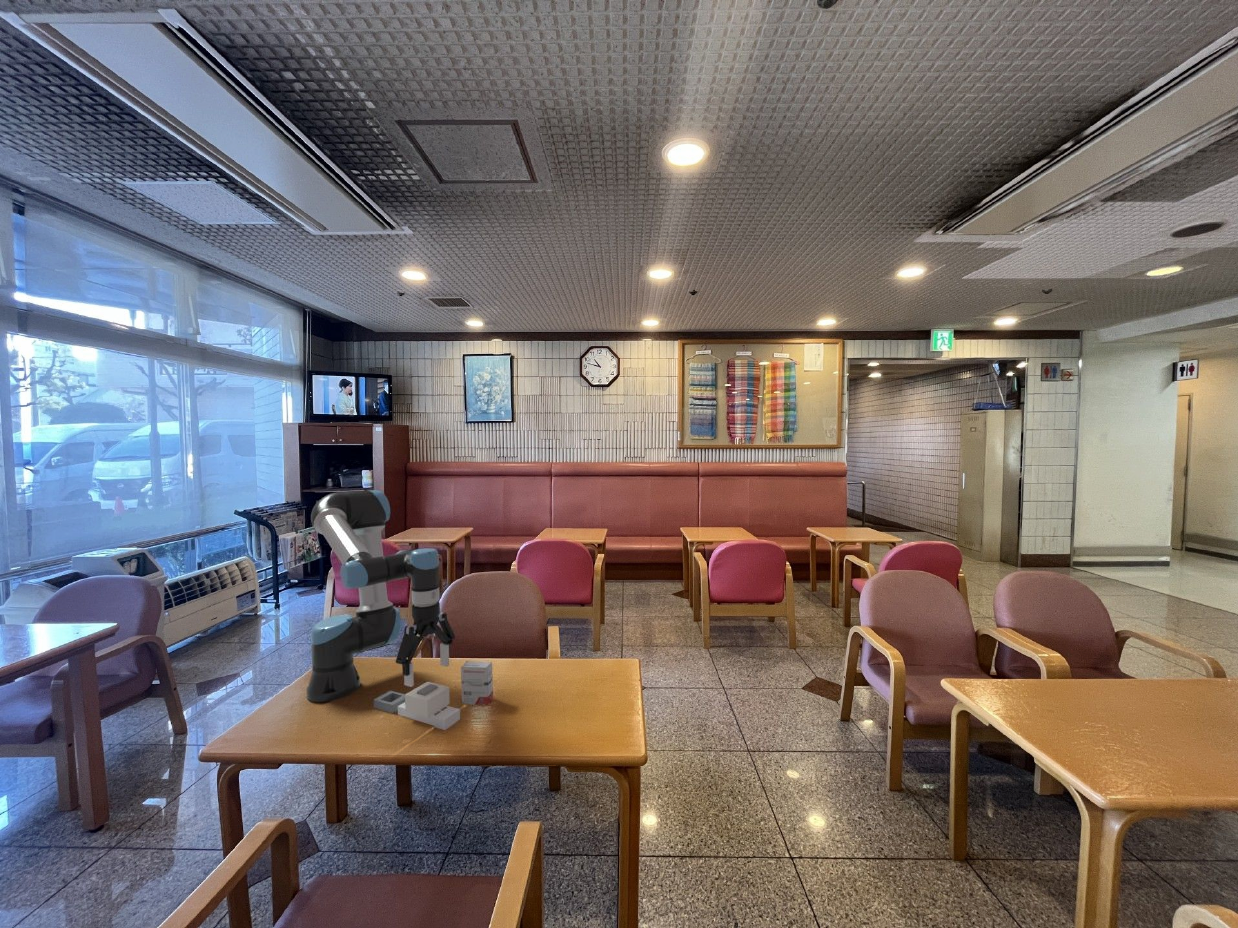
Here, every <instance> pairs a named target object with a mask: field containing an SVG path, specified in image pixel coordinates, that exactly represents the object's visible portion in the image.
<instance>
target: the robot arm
mask: <svg viewBox="0 0 1238 928" xmlns="http://www.w3.org/2000/svg"><path fill="white" fill-rule="evenodd" d="M311 510H312V511H311V513H310V521H311V525H312V527H313V529H315V532H317V533H319V534H321V535H323V537H324V538H325V540H326V541H327V543H328V544H329V546H330V548H331V550H332V551H333V552H334V554H335V556H336V557H337V558H338V560H339V561H340V563H341V566H340V572H339V573H340V574H339V575H340V580H341V583H342V586H343V587H344V588H345V589H347V590H348V589H350V590H351V589H356V588H358V595H359V606H358V608H357V609H356V610H355V616H354V617H352V616H353V615H350V614H346V613H345V614H344V613H343V614H338V615H336V614H335V615H333V616H329V617H326V618H324V619H321V620H320V621H318V622H317V623H316V624H315V625H314V626H313V627H312V628H311V635H310V636H311V637H310V644H311V668H312V669H311V670H312V671H311V676H310V678H309V681H308V686H307V688H306V698H307V700H308V701H310V702H311V703H327V702H332V701H334V700H339V699H341V698H344V697H347V696H349V695H351V694H353V693H354V692H356V691H357V690H359V688H360V687H361V678H360V675H359V672H358V670H357V668H356V666H355V662H354V655H356V654H359V653H362V652H365V651H369V650H371V649H376V648H379V647H384V646H386V645H389V644H393V643H395V641H397V639H398V638H399V636H400V634H401V631H402V616H401V611H400V610H399V609H398V608H397V607H394V604H393V602H391V601H390V600H389V599H388V598H389V597H388V591H387V588H388V587H387V583H389V582H392V581H397V580H402V579H410V582H411V589H410V590H411V604H412V606H411V616H412V619H413V621H414V622H413V625H406V626H404V631H403V637H402V640H401V644H400V646H399V649H398V652H397V656H396V659H395V664H397V665H401V666H402V668H401V669H402V672H401V673H402V676H403V678H404V681H403V682H404V686H407V687H410V688H413V687H415V685H414V684H415V683H414V682H415V681H414V679H415V678H414V677H415V676H414V675H415V674H414V662H412V660H413V658H414V656H415V655H416V652H417V650H418V649H419V646H420V644H421V642H422V641H423V640H424V638H425V637H428V636H430V635H432V634H434V635H435V636H436V637H437V638H438V639H439V640H440V641H441V642H442V643H440V644H439V645H440V646H439V651H440V652H439V653H440V654H439V655H440V657H439V658H440V666H443V667H446V668H448V667H450V652H451V646H450V645H452V644H453V642H454V641H453V640H455V638H456V636H455V633H454V631H453V628H452V627H451V624H450V622H449V620H448V615H447V613H446V612H442V611H441V605H440V602H439V601H440V559H439V552H438V550H437V549H436V548H432V547H431V548H430V547H429V548H428V547H425V548H417V549H414V550H408V549H406V550H405V549H404V550H399V551H398V552H396V553H394V554H390V555H389V554H388V555H384V550H383V549H384V548H383V538H382V531H383V529H384V528H386V523H387V522H388V521H389V520H390V517H391V507H390V502H389V500H388V498H387V496H386V495H385V493H384V492H382V491H380V490H378V489H373V490H372V489H366V490H357V491H356V490H355V491H345V492H343V491H342V492H341V491H340V492H339V491H338V492H333V493H329V494H327V495H325V496H324V497H323V496H322V497H321V499H319V500H318V501H317V502H316V503H315V504H314V506H313V508H312V509H311Z"/></svg>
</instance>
